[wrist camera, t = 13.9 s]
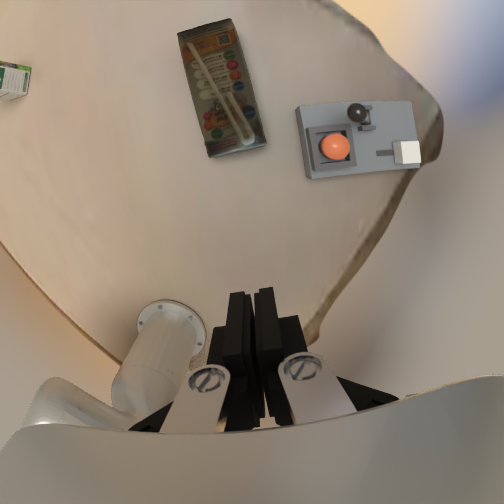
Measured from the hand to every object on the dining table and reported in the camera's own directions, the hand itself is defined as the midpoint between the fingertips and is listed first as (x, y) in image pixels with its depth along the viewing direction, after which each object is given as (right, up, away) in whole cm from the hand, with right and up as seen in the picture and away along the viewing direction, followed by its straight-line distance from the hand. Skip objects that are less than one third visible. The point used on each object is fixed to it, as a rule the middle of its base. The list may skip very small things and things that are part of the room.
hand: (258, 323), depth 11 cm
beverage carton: (-4, +26, +26) cm, 37 cm away
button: (+10, +16, +24) cm, 30 cm away
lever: (+15, +20, +22) cm, 34 cm away
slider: (+21, +17, +24) cm, 36 cm away
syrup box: (-45, +35, +23) cm, 61 cm away
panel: (+15, +20, +28) cm, 37 cm away
